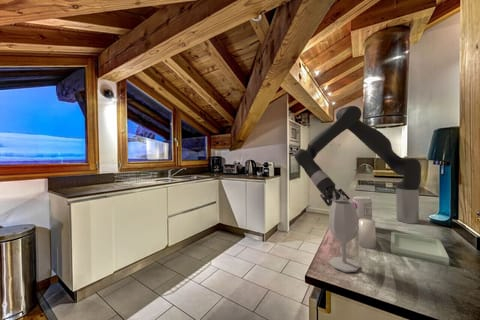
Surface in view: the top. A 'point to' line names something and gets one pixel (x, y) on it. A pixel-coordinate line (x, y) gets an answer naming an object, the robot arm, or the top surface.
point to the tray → (419, 248)
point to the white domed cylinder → (367, 233)
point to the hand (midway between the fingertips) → (346, 210)
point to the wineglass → (343, 232)
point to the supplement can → (363, 207)
